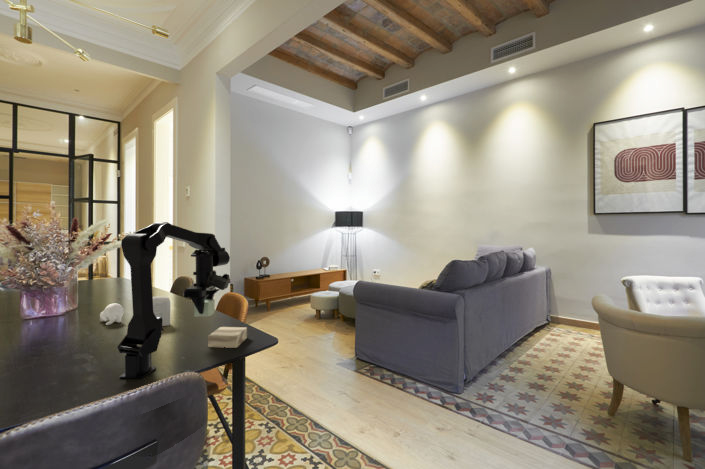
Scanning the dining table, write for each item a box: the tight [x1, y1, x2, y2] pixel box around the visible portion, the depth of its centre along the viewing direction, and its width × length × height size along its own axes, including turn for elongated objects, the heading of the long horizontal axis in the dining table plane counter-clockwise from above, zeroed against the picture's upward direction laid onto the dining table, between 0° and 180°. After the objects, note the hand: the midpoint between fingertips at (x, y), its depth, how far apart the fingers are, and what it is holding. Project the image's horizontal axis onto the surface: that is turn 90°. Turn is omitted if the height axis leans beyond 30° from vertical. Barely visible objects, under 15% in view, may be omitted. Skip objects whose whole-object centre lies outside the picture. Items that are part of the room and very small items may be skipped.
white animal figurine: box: [99, 302, 125, 326], centre depth 141 cm, size 6×8×12 cm
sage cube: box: [193, 298, 216, 318], centre depth 118 cm, size 5×5×5 cm
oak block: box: [207, 326, 248, 349], centre depth 119 cm, size 10×10×4 cm
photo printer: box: [153, 295, 171, 327], centre depth 136 cm, size 10×4×12 cm, turn 123°
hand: (204, 311), depth 118 cm, fingers closed on sage cube, 5 cm apart
